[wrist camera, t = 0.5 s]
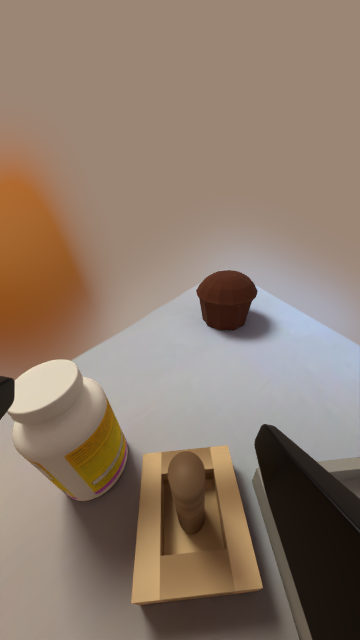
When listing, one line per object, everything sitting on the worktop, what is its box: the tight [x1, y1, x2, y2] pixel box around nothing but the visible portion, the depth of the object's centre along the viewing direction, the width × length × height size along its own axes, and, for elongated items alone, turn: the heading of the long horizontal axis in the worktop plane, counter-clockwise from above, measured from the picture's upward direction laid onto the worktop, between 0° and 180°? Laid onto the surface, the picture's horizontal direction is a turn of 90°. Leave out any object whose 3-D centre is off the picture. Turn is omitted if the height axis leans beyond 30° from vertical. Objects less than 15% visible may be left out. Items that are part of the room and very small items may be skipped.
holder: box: [131, 445, 263, 605], centre depth 16 cm, size 8×8×3 cm
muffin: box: [196, 270, 257, 330], centre depth 39 cm, size 12×11×10 cm
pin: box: [168, 451, 205, 535], centre depth 14 cm, size 2×2×9 cm
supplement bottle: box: [7, 360, 128, 501], centre depth 17 cm, size 7×7×13 cm
